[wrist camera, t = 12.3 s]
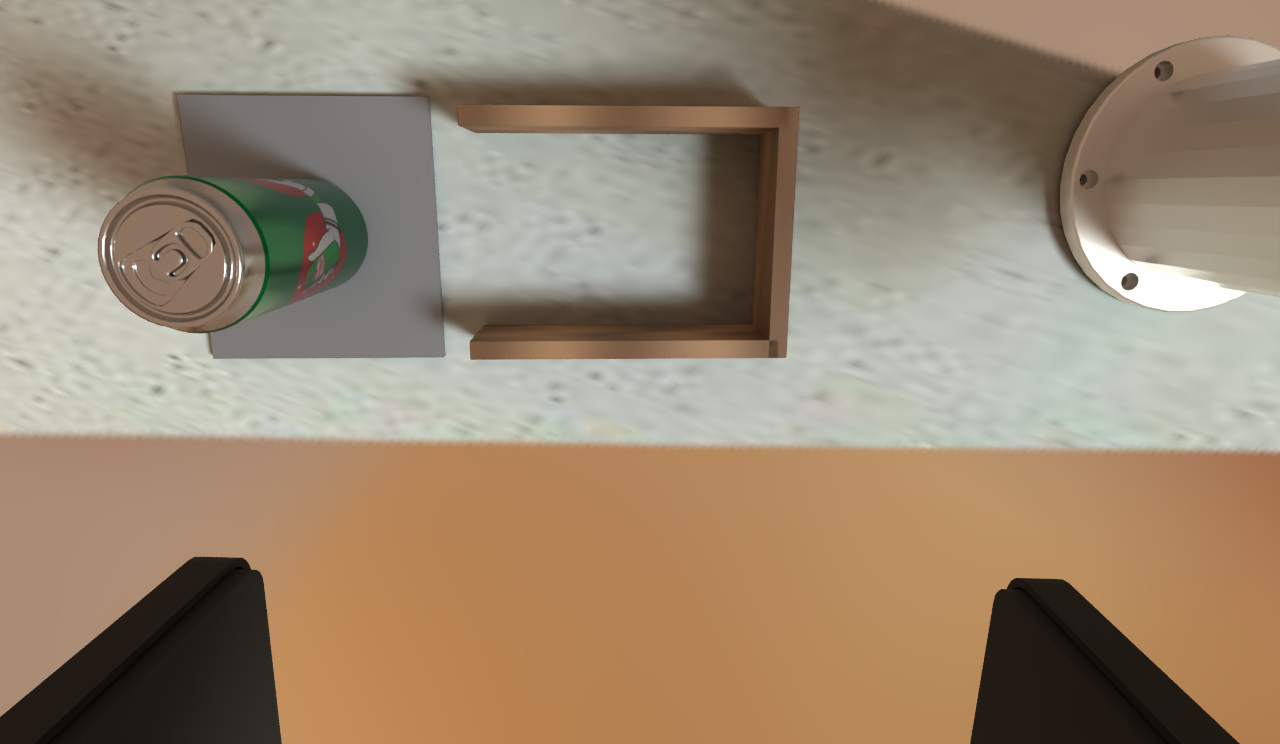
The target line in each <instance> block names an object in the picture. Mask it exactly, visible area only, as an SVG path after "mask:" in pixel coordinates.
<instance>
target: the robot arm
mask: <svg viewBox="0 0 1280 744" xmlns="http://www.w3.org/2000/svg"><path fill="white" fill-rule="evenodd" d="M1080 177H1081V182H1080ZM1060 214H1061V219H1062V224H1063V229H1064V234H1065V237H1066V240H1067V242H1068V245H1069V247H1070V249H1071V252H1072V254H1073V257H1074V258H1075V260H1076V261H1077V262H1078V264H1079V265H1080V267H1081V268H1082V270H1083V271H1084V272H1085V274H1086V275H1087V276H1088V277H1089V278H1090V279H1091V280H1092V281H1093V282H1094V283H1095V284H1096V285H1098V286H1099V287H1100V288H1101V289H1102V290H1103V291H1105V292H1107V293H1108V294H1110V295H1112V296H1114V297H1115V298H1117V299H1119V300H1121V301H1123V302H1126V303H1129V304H1132V305H1136V306H1139V307H1142V308H1147V309H1152V310H1158V311H1163V312H1192V311H1197V310H1203V309H1208V308H1213V307H1216V306H1219V305H1221V304H1224V303H1226V302H1229V301H1232V300H1234V299H1237V298H1239V297H1241V296H1242V295H1244V294H1246V293H1247V292H1250V293H1256V294H1262V295H1268V296H1275V297H1280V50H1279V49H1278V48H1277V47H1274V46H1272V45H1269V44H1266V43H1263V42H1261V41H1257V40H1255V39H1252V38H1244V37H1235V36H1217V37H1206V38H1199V39H1195V40H1191V41H1188V42H1183V43H1180V44H1175V45H1173V46H1170V47H1168V48H1165V49H1163V50H1160V51H1158V52H1155V53H1153V54H1151V55H1149V56H1147V57H1146V58H1144V59H1142V60H1141V61H1139V62H1138V63H1136V64H1135V65H1133V66H1131V67H1130V68H1128V69H1127V70H1125V71H1124V72H1123V73H1122V74H1121V75H1120V76H1119V77H1118V78H1116V79H1115V80H1114V81H1113V82H1112V83H1111V84H1110V85H1109V86H1107V87H1106V88H1105V90H1104V91H1103V92H1102V93H1101V95H1100V96H1099V97H1098V98H1097V99H1096V101H1095V102H1094V103H1093V104H1092V106H1091V107H1090V108H1089V109H1088V111H1087V113H1086V114H1085V116H1084V118H1083V120H1082V121H1081V123H1080V125H1079V127H1078V129H1077V130H1076V132H1075V134H1074V136H1073V139H1072V142H1071V144H1070V147H1069V150H1068V153H1067V155H1066V158H1065V162H1064V167H1063V173H1062V178H1061V184H1060ZM0 744H282V743H281V734H280V725H279V717H278V707H277V698H276V689H275V681H274V672H273V663H272V654H271V645H270V636H269V627H268V618H267V609H266V600H265V592H264V583H263V578H262V575H261V573H260V572H259V571H257V570H251V568H250V565H249V564H248V562H247V561H246V560H245V559H243V558H226V557H194V558H192V559H190V560H189V561H187V562H186V563H185V564H184V565H182V566H181V567H180V568H179V569H178V570H176V571H175V572H174V573H173V574H172V575H170V576H169V577H168V578H167V579H166V580H165V581H163V582H162V583H161V584H160V585H158V586H157V587H156V588H155V589H154V590H152V591H151V592H150V593H149V594H148V595H146V596H145V597H144V598H143V599H142V600H140V601H139V602H138V603H137V604H136V605H134V606H133V607H132V608H131V609H130V610H128V611H127V612H126V613H125V614H124V615H122V616H121V617H120V618H119V619H118V620H116V621H115V622H114V623H113V624H112V625H110V626H109V627H108V628H107V629H105V630H104V631H103V632H102V633H101V634H99V635H98V636H97V637H96V638H95V639H93V640H92V641H91V642H90V643H89V644H88V645H86V646H85V647H84V648H83V649H82V650H80V651H79V652H78V653H77V654H75V655H74V656H73V657H72V658H71V659H69V660H68V661H67V662H66V663H65V664H63V665H62V666H61V667H60V668H59V669H57V670H56V671H55V672H54V673H53V674H51V675H50V676H49V677H48V678H47V679H45V680H44V681H43V682H42V683H41V684H40V685H38V686H37V687H36V688H35V689H33V691H31V692H30V693H29V694H27V695H26V696H25V697H24V698H23V699H21V700H20V701H19V702H18V703H17V704H16V705H14V706H13V707H12V708H11V709H10V710H8V711H7V712H6V713H5V714H3V715H2V716H1V717H0ZM970 744H1239V743H1238V742H1237V741H1236V740H1235V739H1234V738H1233V737H1232V736H1231V735H1230V734H1229V733H1228V732H1226V730H1224V729H1223V728H1222V727H1221V726H1220V725H1219V724H1218V723H1217V722H1216V721H1215V720H1214V719H1213V718H1212V717H1211V716H1210V715H1209V714H1207V713H1206V712H1205V711H1204V710H1203V709H1202V708H1201V707H1200V706H1199V705H1198V704H1197V703H1196V702H1195V701H1194V700H1193V699H1191V698H1190V697H1189V696H1188V695H1187V694H1186V693H1185V692H1184V691H1183V690H1182V689H1181V688H1180V687H1179V686H1178V685H1177V684H1175V683H1174V682H1173V681H1172V680H1171V679H1170V678H1169V677H1168V676H1167V675H1166V674H1165V673H1164V672H1163V671H1162V670H1161V669H1160V668H1158V667H1157V666H1156V665H1155V664H1154V663H1153V662H1152V661H1151V660H1150V659H1149V658H1148V657H1147V656H1146V655H1145V654H1144V653H1142V651H1140V650H1139V649H1138V648H1137V647H1136V646H1135V645H1134V644H1133V643H1132V642H1131V641H1130V640H1129V639H1128V638H1127V637H1126V636H1124V635H1123V634H1122V633H1121V632H1120V631H1119V630H1118V629H1117V628H1116V627H1115V626H1114V625H1113V624H1112V623H1111V622H1110V621H1109V620H1107V619H1106V618H1105V617H1104V616H1103V615H1102V614H1101V613H1100V612H1099V611H1098V610H1097V609H1096V608H1095V607H1094V606H1093V605H1092V604H1090V603H1089V602H1088V601H1087V600H1086V599H1085V598H1084V597H1083V596H1082V595H1081V594H1080V593H1079V592H1077V590H1076V589H1074V588H1073V587H1072V586H1071V585H1070V584H1069V583H1068V582H1066V581H1064V580H1061V579H1031V578H1030V579H1029V578H1015V579H1013V580H1012V581H1011V582H1010V584H1009V585H1008V587H1007V589H1001V590H999V591H998V592H997V593H996V595H995V598H994V602H993V608H992V614H991V621H990V627H989V633H988V639H987V645H986V651H985V657H984V663H983V669H982V675H981V681H980V688H979V693H978V699H977V706H976V712H975V718H974V725H973V730H972V736H971V743H970Z"/></svg>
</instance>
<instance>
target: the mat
mask: <svg viewBox="0 0 1280 744" xmlns="http://www.w3.org/2000/svg"><path fill="white" fill-rule="evenodd" d="M177 100H178V107H179V114H180V122H181V129H182V136H183V143H184V150H185V158H186V165H187V172H188V176H224V177H273V178H310V179H317V180H322V181H325V182H327V183H330V184H332V185H334V186H336V187H337V188H339V189H341V190H342V191H343V192H344V193H346V194H347V195H348V196H349V197H350V198H351V199H352V200H353V201H354V203H355V204H356V205H357V207H358V208H359V210H360V212H361V214H362V215H363V218H364V220H365V223H366V227H367V232H368V247H367V253H366V256H365V259H364V261H363V263H362V265H361V267H360V269H359V270H358V271H357V273H356V274H355V275H354V276H353V277H352V278H351V279H350V280H348V281H347V282H345V283H344V284H342V285H339V286H337V287H335V288H332V289H330V290H327V291H324V292H322V293H319V294H317V295H314V296H311V297H309V298H306V299H303V300H301V301H298V302H296V303H293V304H290V305H288V306H285V307H282V308H280V309H277V310H275V311H272V312H269V313H267V314H264V315H261V316H259V317H256V318H254V319H251V320H248V321H246V322H243V323H240V324H238V325H235V326H233V327H230V328H227V329H224V330H220V331H217V332H211V333H210V338H211V345H212V352H213V359H231V358H410V357H444V356H445V342H444V325H443V309H442V293H441V276H440V260H439V244H438V228H437V211H436V195H435V179H434V162H433V146H432V130H431V114H430V98H429V97H397V96H275V95H177Z"/></svg>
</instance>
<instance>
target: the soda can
mask: <svg viewBox="0 0 1280 744" xmlns="http://www.w3.org/2000/svg"><path fill="white" fill-rule="evenodd" d="M367 247H368V232H367V227H366V223H365V220H364V218H363V215H362V214H361V212H360V210H359V208H358V207H357V205H356V204H355V203H354V201H353V200H352V199H351V198H350V197H349V196H348V195H347V194H346V193H344V192H343V191H342V190H341V189H339V188H337V187H336V186H334V185H332V184H330V183H327V182H325V181H322V180H317V179H310V178H273V177H224V176H166V177H160V178H157V179H153V180H150V181H148V182H146V183H144V184H141V185H139V186H138V187H137V188H135V189H134V190H132V191H131V192H130V193H129V194H128V195H127V196H126V197H125V198H124V199H123V200H121V201H120V202H119V203H117V204H116V205H115V206H114V207H113V208H112V210H111V211H110V212H109V214H108V215H107V217H106V218H105V220H104V222H103V225H102V227H101V230H100V234H99V238H98V257H99V263H100V267H101V270H102V273H103V275H104V278H105V280H106V282H107V284H108V285H109V287H110V289H111V290H112V292H113V293H114V294H115V296H116V297H117V298H118V299H119V300H120V302H122V303H123V304H124V305H125V306H126V307H127V308H128V309H129V310H131V311H132V312H134V313H135V314H136V315H138V316H140V317H141V318H143V319H145V320H147V321H149V322H152V323H155V324H158V325H162V326H166V327H169V328H172V329H175V330H178V331H183V332H188V333H211V332H217V331H220V330H224V329H227V328H230V327H233V326H235V325H238V324H240V323H243V322H246V321H248V320H251V319H254V318H256V317H259V316H261V315H264V314H267V313H269V312H272V311H275V310H277V309H280V308H282V307H285V306H288V305H290V304H293V303H296V302H298V301H301V300H303V299H306V298H309V297H311V296H314V295H317V294H319V293H322V292H324V291H327V290H330V289H332V288H335V287H337V286H339V285H342V284H344V283H345V282H347V281H348V280H350V279H351V278H352V277H353V276H354V275H355V274H356V273H357V271H358V270H359V269H360V267H361V265H362V263H363V261H364V259H365V256H366V253H367Z"/></svg>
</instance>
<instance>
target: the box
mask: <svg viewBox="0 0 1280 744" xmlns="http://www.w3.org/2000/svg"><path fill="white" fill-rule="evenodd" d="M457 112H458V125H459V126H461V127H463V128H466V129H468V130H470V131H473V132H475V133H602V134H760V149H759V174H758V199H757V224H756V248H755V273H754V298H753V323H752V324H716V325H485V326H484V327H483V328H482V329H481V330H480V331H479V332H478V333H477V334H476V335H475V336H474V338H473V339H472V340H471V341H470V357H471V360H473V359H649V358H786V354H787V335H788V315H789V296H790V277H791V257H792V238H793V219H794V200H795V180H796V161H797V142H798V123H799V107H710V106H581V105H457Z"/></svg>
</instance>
